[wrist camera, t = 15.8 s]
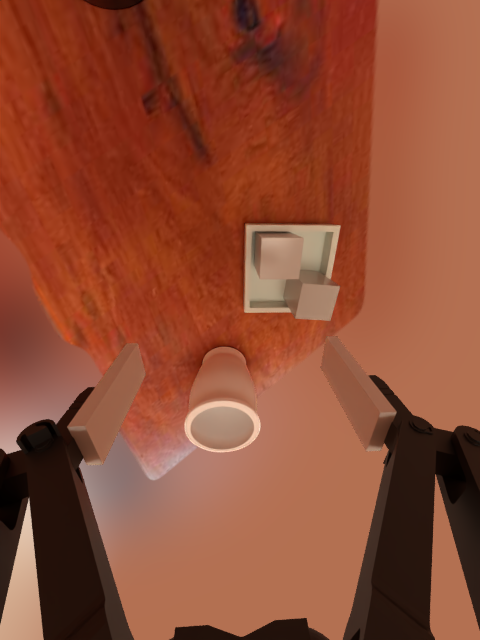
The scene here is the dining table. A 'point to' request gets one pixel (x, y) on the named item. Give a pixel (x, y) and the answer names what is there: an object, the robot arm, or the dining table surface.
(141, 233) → the dining table surface
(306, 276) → the grey rectangular block
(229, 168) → the dining table surface
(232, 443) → the jar
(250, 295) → the bin
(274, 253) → the tall grey rectangular prism
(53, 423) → the robot arm
